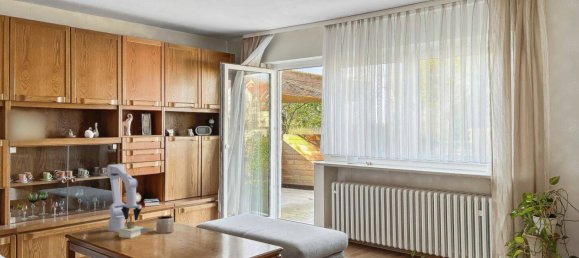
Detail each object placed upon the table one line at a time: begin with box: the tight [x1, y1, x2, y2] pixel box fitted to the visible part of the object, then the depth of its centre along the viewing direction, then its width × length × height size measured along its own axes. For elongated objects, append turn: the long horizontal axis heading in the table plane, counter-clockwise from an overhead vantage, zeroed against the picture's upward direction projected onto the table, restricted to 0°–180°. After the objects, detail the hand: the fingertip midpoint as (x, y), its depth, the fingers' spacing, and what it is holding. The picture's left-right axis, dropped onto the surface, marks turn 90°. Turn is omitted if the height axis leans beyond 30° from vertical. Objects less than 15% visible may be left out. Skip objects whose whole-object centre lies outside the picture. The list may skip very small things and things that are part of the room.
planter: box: [155, 215, 175, 235], centre depth 292 cm, size 11×11×10 cm
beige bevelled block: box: [118, 229, 142, 239], centre depth 280 cm, size 9×9×4 cm
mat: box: [141, 227, 154, 234], centre depth 296 cm, size 12×12×1 cm
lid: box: [117, 220, 145, 232], centre depth 281 cm, size 11×11×5 cm
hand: (131, 219), depth 283 cm, fingers open, 7 cm apart
